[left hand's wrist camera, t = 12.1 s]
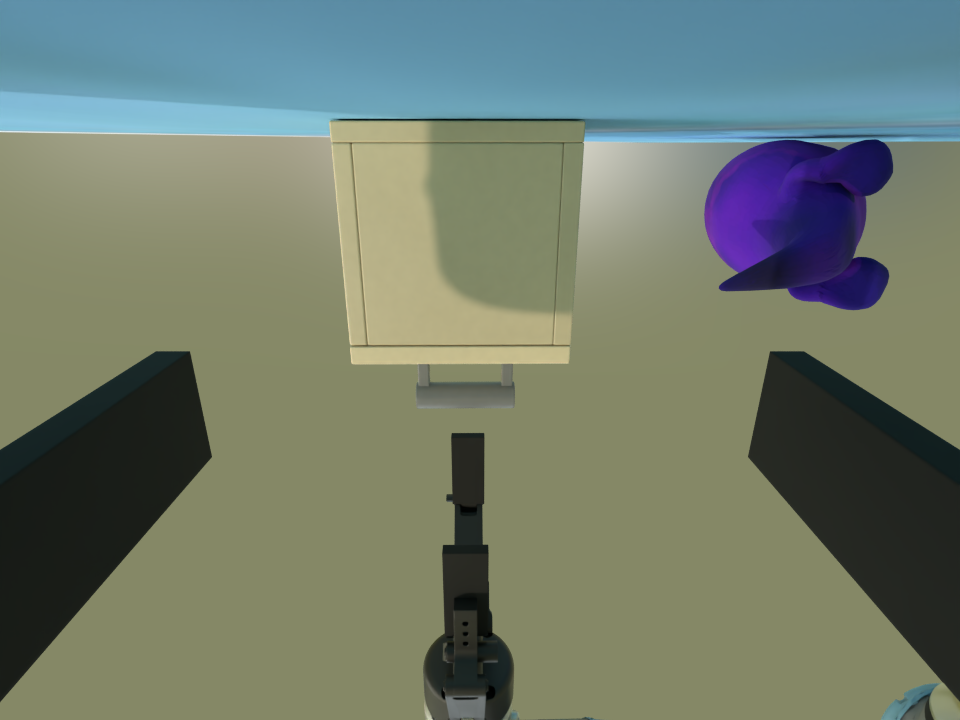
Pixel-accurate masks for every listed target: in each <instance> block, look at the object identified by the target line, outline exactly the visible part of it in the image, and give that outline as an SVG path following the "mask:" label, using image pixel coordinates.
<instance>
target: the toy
mask: <svg viewBox="0 0 960 720" xmlns="http://www.w3.org/2000/svg"><path fill="white" fill-rule="evenodd" d="M892 173H893V161H892V155H891V152H890V149H889V148H888V147H887V145H886V144H885V143H883V142H881V141H879V140H876V139H874V140H863V141H859V142H856V143H853V144H850V145H848V146H846V147H844V148H842V149H840V150H837V149H835V148H832V147H827V146H824V145H820V144H814V143H809V142H804V141H799V140H779V141H772V142H767V143H764V144H761V145H758V146H755V147H753V148H750V149H748V150H747V151H745V152H743V153H741V154H740V155H738V156H737V157H735V158H734V159H732V160H731V161H730V162H729V163H728V164H727V165H726V166H725V167H724V168H723V169H722V170H721V171H720V172H719V174H718V175H717V177H716V178H715V180H714V181H713V183H712V185H711V187H710V189H709V192H708V195H707V199H706V203H705V214H704V216H705V227H706V231H707V234H708V237H709V240H710V242H711V244H712V246H713V248H714V249H715V251H716V252H717V253H718V255H719V256H720V257H721V258H722V260H723V261H724V262H725V263H726V264H727V265H728V266H730V267H731V268H733V269H734V270H735V271H737V272H738V274H736V275H735V276H733V277H731V278H729V279H728V280H726V281H724V282H723V283H722V284H721V285H720V286H719V289H720V290H721V291H752V290H770V289H785V288H787V289H788V291H789V293H790V294H791V295H792V296H793V297H794V298H796V299H799V300H802V301H812V302H823V303H825V304H828V305H831V306H834V307H837V308H841V309H846V310H860V309H866V308H869V307H871V306H873V305H874V304H875V303H876V302H877V301H878V300H879V299H880V297H881V295H882V293H883V292H884V289H885V288H886V285H887V283H888V279H889V272H888V270H887V268H886V267H885V266H884V265H883V264H881V263H879V262H878V261H876V260H874V259H872V258H867V257H857V258H854V259H853V256H854V254H855V250H856V247H857V245H858V243H859V241H860V239H861V236H862V233H863V230H864V226H865V221H866V198H865V196H869V195H872V194H874V193H876V192H878V191H879V190H880V189H882V188H883V186H884V185H885V184H886V183H887V182H888V180H889V179H890V177H891V175H892Z"/></svg>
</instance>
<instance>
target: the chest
mask: <svg viewBox="0 0 960 720" xmlns="http://www.w3.org/2000/svg"><path fill="white" fill-rule="evenodd" d="M329 126H330V136H331V142H333V143H332V145H331V146H332V157H333V167H334V178H335V189H336V200H337V210H338V221H339V232H340V242H341V253H342V264H343V275H344V285H345V296H346V307H347V318H348V328H349V339H350V344H351V345H367V344H368V345H551V344H554V345H570V344H571V333H572V318H573V303H574V288H575V272H576V257H577V242H578V226H579V212H580V196H581V181H582V165H583V150H584V143H582V142H584V134H585V121H348V120H331V121H330V122H329Z"/></svg>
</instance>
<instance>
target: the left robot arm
mask: <svg viewBox="0 0 960 720" xmlns="http://www.w3.org/2000/svg"><path fill="white" fill-rule="evenodd" d="M211 457H212V455H211V450H210V445H209V441H208V436H207V431H206V426H205V421H204V417H203V412H202V407H201V402H200V397H199V393H198V388H197V383H196V378H195V374H194V369H193V364H192V359H191V355H190V352H189V351H186V352H185V351H183V352H182V351H180V352H179V351H174V352H173V351H159V352H158V351H156V352H154V353H153V354H151V355H150V356H148V357H146V358H145V359H143V360H142V361H140V362H139V363H137V364H135V365H134V366H132V367H131V368H129V369H128V370H126V371H124V372H123V373H121V374H120V375H118V376H116V377H115V378H113V379H112V380H110V381H109V382H107V383H105V384H104V385H102V386H101V387H99V388H98V389H96V390H94V391H93V392H91V393H90V394H88V395H86V396H85V397H83V398H82V399H80V400H78V401H77V402H75V403H74V404H72V405H71V406H69V407H67V408H66V409H64V410H63V411H61V412H60V413H58V414H56V415H55V416H53V417H52V418H50V419H48V420H47V421H45V422H44V423H42V424H41V425H39V426H37V427H36V428H34V429H33V430H31V431H29V432H28V433H26V434H25V435H23V436H22V437H20V438H18V439H17V440H15V441H14V442H12V443H10V444H9V445H7V446H6V447H4V448H2V449H1V450H0V702H1V700H2V699H3V698H4V697H5V696H6V695H7V693H8V692H9V691H10V690H11V689H12V688H13V687H14V685H15V684H16V683H17V682H18V681H19V680H20V678H21V677H22V676H23V675H24V674H25V673H26V672H27V670H28V669H29V668H30V667H31V666H32V665H33V663H34V662H35V661H36V660H37V659H38V658H39V656H40V655H41V654H42V653H43V652H44V651H45V650H46V648H47V647H48V646H49V645H50V644H51V643H52V641H53V640H54V639H55V638H56V637H57V636H58V634H59V633H60V632H61V631H62V630H63V629H64V628H65V626H66V625H67V624H68V623H69V622H70V621H71V619H72V618H73V617H74V616H75V615H76V614H77V612H78V611H79V610H80V609H81V608H82V607H83V606H84V604H85V603H86V602H87V601H88V600H89V599H90V597H91V596H92V595H93V594H94V593H95V592H96V591H97V589H98V588H99V587H100V586H101V585H102V584H103V582H104V581H105V580H106V579H107V578H108V577H109V575H110V574H111V573H112V572H113V571H114V570H115V569H116V567H117V566H118V565H119V564H120V563H121V562H122V560H123V559H124V558H125V557H126V556H127V555H128V553H129V552H130V551H131V550H132V549H133V548H134V547H135V545H136V544H137V543H138V542H139V541H140V540H141V538H142V537H143V536H144V535H145V534H146V533H147V531H148V530H149V529H150V528H151V527H152V526H153V524H154V523H155V522H156V521H157V520H158V519H159V518H160V516H161V515H162V514H163V513H164V512H165V511H166V510H167V508H168V507H169V506H170V505H171V504H172V502H173V501H174V500H175V499H176V498H177V497H178V496H179V494H180V493H181V492H182V491H183V490H184V489H185V487H186V486H187V485H188V484H189V483H190V482H191V481H192V479H193V478H194V477H195V476H196V475H197V474H198V472H199V471H200V470H201V469H202V468H203V467H204V465H205V464H206V463H207V462H208V461H209V460H210V459H211ZM748 457H749V459H750V460H751V461H752V462H753V463H754V464H755V465H756V467H757V468H758V469H759V470H760V471H761V472H762V474H763V475H764V476H765V477H766V478H767V479H768V481H769V482H770V483H771V484H772V485H773V486H774V487H775V489H776V490H777V491H778V492H779V493H780V494H781V496H782V497H783V498H784V499H785V500H786V501H787V503H788V504H789V505H790V506H791V507H792V508H793V510H794V511H795V512H796V513H797V514H798V515H799V516H800V518H801V519H802V520H803V521H804V522H805V523H806V525H807V526H808V527H809V528H810V529H811V530H812V531H813V533H814V534H815V535H816V536H817V537H818V538H819V540H820V541H821V542H822V543H823V544H824V545H825V547H826V548H827V549H828V550H829V551H830V552H831V553H832V555H833V556H834V557H835V558H836V559H837V560H838V562H839V563H840V564H841V565H842V566H843V567H844V569H845V570H846V571H847V572H848V573H849V574H850V575H851V577H852V578H853V579H854V580H855V581H856V582H857V584H858V585H859V586H860V587H861V588H862V589H863V590H864V592H865V593H866V594H867V595H868V596H869V597H870V599H871V600H872V601H873V602H874V603H875V604H876V605H877V607H878V608H879V609H880V610H881V611H882V612H883V614H884V615H885V616H886V617H887V618H888V619H889V621H890V622H891V623H892V624H893V625H894V626H895V628H896V629H897V630H898V631H899V632H900V633H901V634H902V636H903V637H904V638H905V639H906V640H907V641H908V643H909V644H910V645H911V646H912V647H913V648H914V649H915V651H916V652H917V653H918V654H919V655H920V656H921V658H922V659H923V660H924V661H925V662H926V663H927V665H928V666H929V667H930V668H931V669H932V670H933V672H934V673H935V674H936V675H937V676H938V677H939V678H940V680H941V681H942V682H943V683H944V684H945V685H946V687H947V688H948V689H949V690H950V691H951V692H952V693H953V695H954V696H955V697H956V698H957V699H958V700H959V702H960V450H959V449H958V448H956V447H954V446H953V445H951V444H950V443H948V442H946V441H945V440H943V439H942V438H940V437H938V436H937V435H935V434H934V433H932V432H931V431H929V430H927V429H926V428H924V427H923V426H921V425H920V424H918V423H916V422H915V421H913V420H912V419H910V418H908V417H907V416H905V415H904V414H902V413H901V412H899V411H897V410H896V409H894V408H893V407H891V406H889V405H888V404H886V403H885V402H883V401H882V400H880V399H878V398H877V397H875V396H874V395H872V394H870V393H869V392H867V391H866V390H864V389H863V388H861V387H859V386H858V385H856V384H855V383H853V382H851V381H850V380H848V379H847V378H845V377H844V376H842V375H840V374H839V373H837V372H836V371H834V370H833V369H831V368H829V367H828V366H826V365H825V364H823V363H821V362H820V361H818V360H817V359H815V358H814V357H812V356H810V355H809V354H807V353H806V352H801V351H789V352H788V351H787V352H786V351H777V352H775V351H772V352H770V355H769V359H768V364H767V369H766V374H765V379H764V383H763V388H762V393H761V398H760V402H759V407H758V412H757V417H756V421H755V426H754V431H753V436H752V440H751V445H750V450H749V455H748Z"/></svg>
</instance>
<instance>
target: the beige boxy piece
mask: <svg viewBox="0 0 960 720" xmlns="http://www.w3.org/2000/svg"><path fill="white" fill-rule="evenodd" d="M350 351H351V362H352V364H418V382H417V385H416V406H417V408H514V404H515V387H514V382H512V372H513V364H553V363H554V364H556V363H557V364H558V363H569V362H570V345H554V344H551V345H368V344H367V345H351V347H350ZM429 364H501V382H430V368H429Z"/></svg>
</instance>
